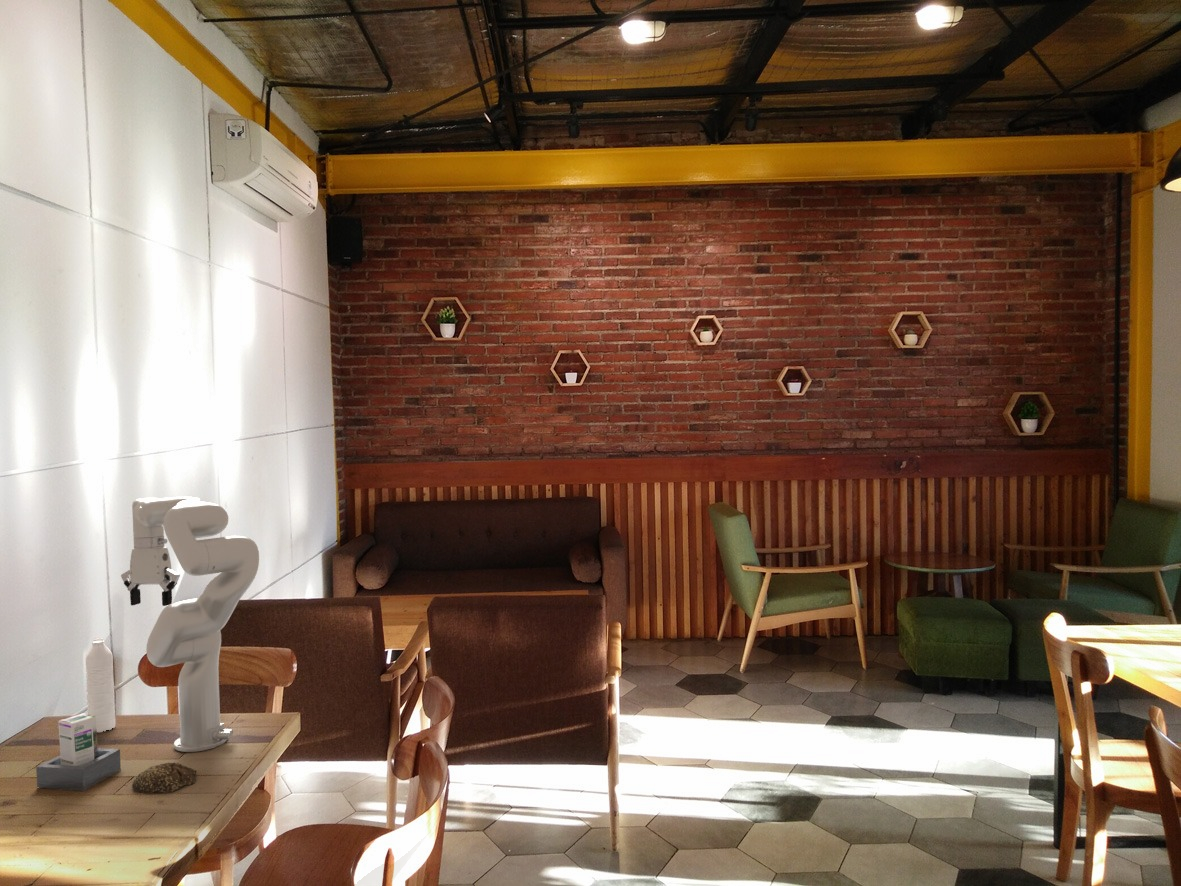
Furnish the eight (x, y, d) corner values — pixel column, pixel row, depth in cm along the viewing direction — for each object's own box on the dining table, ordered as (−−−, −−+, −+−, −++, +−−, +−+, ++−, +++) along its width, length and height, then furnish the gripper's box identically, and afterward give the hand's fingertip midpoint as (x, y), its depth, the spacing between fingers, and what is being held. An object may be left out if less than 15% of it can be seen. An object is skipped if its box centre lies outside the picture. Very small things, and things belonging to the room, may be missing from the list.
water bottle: (89, 727, 239) (85, 637, 238) (116, 723, 242) (112, 634, 241) (87, 737, 231) (83, 644, 231) (114, 732, 234) (111, 641, 234)
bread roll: (124, 791, 197) (123, 769, 197) (168, 770, 208) (167, 749, 208) (167, 799, 192) (166, 776, 192) (209, 777, 204) (209, 756, 204)
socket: (120, 769, 209) (119, 749, 209) (83, 790, 197) (82, 769, 197) (76, 767, 211) (76, 747, 211) (37, 788, 199) (36, 766, 199)
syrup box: (75, 785, 200) (72, 723, 200) (60, 780, 203) (58, 719, 203) (99, 776, 205) (97, 715, 205) (85, 772, 208) (82, 711, 208)
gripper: (185, 541, 241) (188, 602, 242) (130, 541, 244) (132, 601, 245) (168, 545, 234) (170, 608, 234) (111, 544, 237) (113, 607, 237)
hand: (151, 604), depth 240 cm, fingers open, 9 cm apart
